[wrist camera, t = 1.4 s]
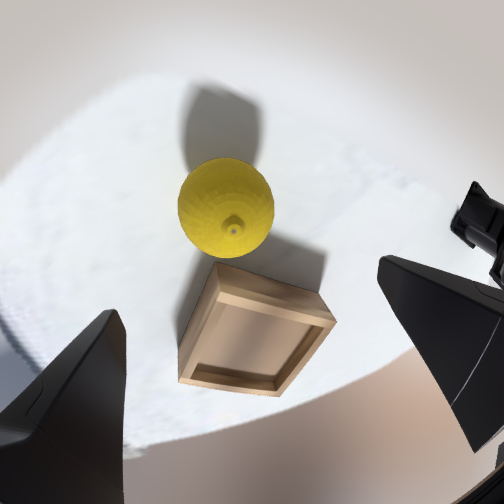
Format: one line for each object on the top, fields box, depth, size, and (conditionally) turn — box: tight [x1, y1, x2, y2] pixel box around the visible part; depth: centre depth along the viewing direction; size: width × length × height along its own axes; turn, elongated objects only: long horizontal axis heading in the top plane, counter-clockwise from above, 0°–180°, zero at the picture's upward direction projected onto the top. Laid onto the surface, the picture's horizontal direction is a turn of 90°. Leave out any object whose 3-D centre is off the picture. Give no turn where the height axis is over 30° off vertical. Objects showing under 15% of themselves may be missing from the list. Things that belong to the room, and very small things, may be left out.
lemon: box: [178, 158, 274, 258], centre depth 17 cm, size 6×6×8 cm
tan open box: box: [178, 262, 337, 397], centre depth 24 cm, size 10×10×4 cm
